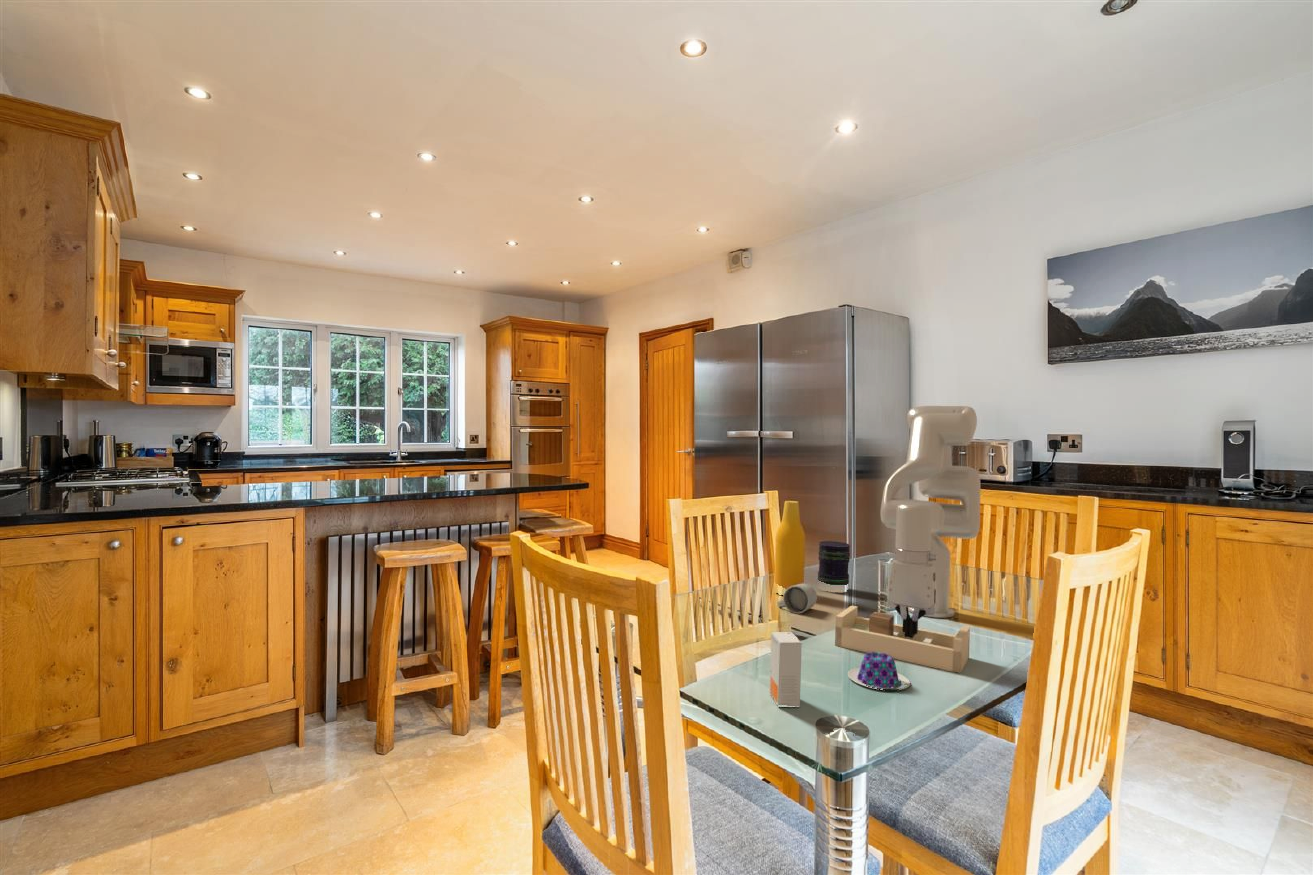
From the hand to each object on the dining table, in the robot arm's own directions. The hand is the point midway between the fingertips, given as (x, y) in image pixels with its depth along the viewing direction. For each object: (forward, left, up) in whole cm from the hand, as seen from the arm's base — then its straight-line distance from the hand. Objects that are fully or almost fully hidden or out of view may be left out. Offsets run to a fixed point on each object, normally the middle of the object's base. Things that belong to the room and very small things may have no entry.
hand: (909, 636), depth 143 cm
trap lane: (0, -2, -4) cm, 4 cm away
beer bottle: (-33, -43, -4) cm, 55 cm away
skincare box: (+43, -12, -4) cm, 45 cm away
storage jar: (-48, -34, -4) cm, 59 cm away
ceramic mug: (-17, -35, -4) cm, 39 cm away
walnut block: (0, -6, -1) cm, 6 cm away
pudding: (+21, -1, -4) cm, 22 cm away
